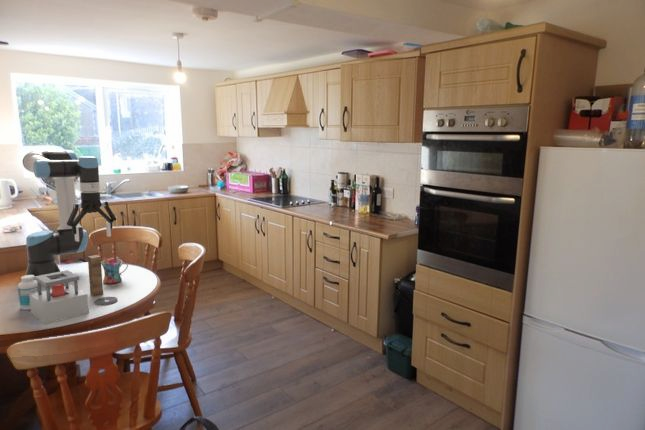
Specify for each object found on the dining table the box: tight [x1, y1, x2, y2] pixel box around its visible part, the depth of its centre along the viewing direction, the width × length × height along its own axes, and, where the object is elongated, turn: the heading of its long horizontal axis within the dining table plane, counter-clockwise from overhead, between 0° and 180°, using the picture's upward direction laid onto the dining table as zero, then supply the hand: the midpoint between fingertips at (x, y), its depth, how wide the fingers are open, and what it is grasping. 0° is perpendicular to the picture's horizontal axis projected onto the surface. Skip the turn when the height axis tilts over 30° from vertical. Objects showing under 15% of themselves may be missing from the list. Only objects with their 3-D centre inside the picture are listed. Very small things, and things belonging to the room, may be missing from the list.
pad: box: [94, 296, 118, 306], centre depth 188 cm, size 9×9×1 cm
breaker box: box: [29, 269, 90, 325], centre depth 174 cm, size 16×16×16 cm
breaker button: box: [50, 283, 65, 298], centre depth 174 cm, size 4×4×8 cm
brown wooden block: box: [87, 254, 104, 297], centre depth 195 cm, size 4×4×18 cm
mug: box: [101, 258, 129, 284], centre depth 214 cm, size 12×9×11 cm
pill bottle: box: [17, 275, 38, 311], centre depth 179 cm, size 8×7×14 cm
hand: (93, 238), depth 192 cm, fingers open, 13 cm apart
